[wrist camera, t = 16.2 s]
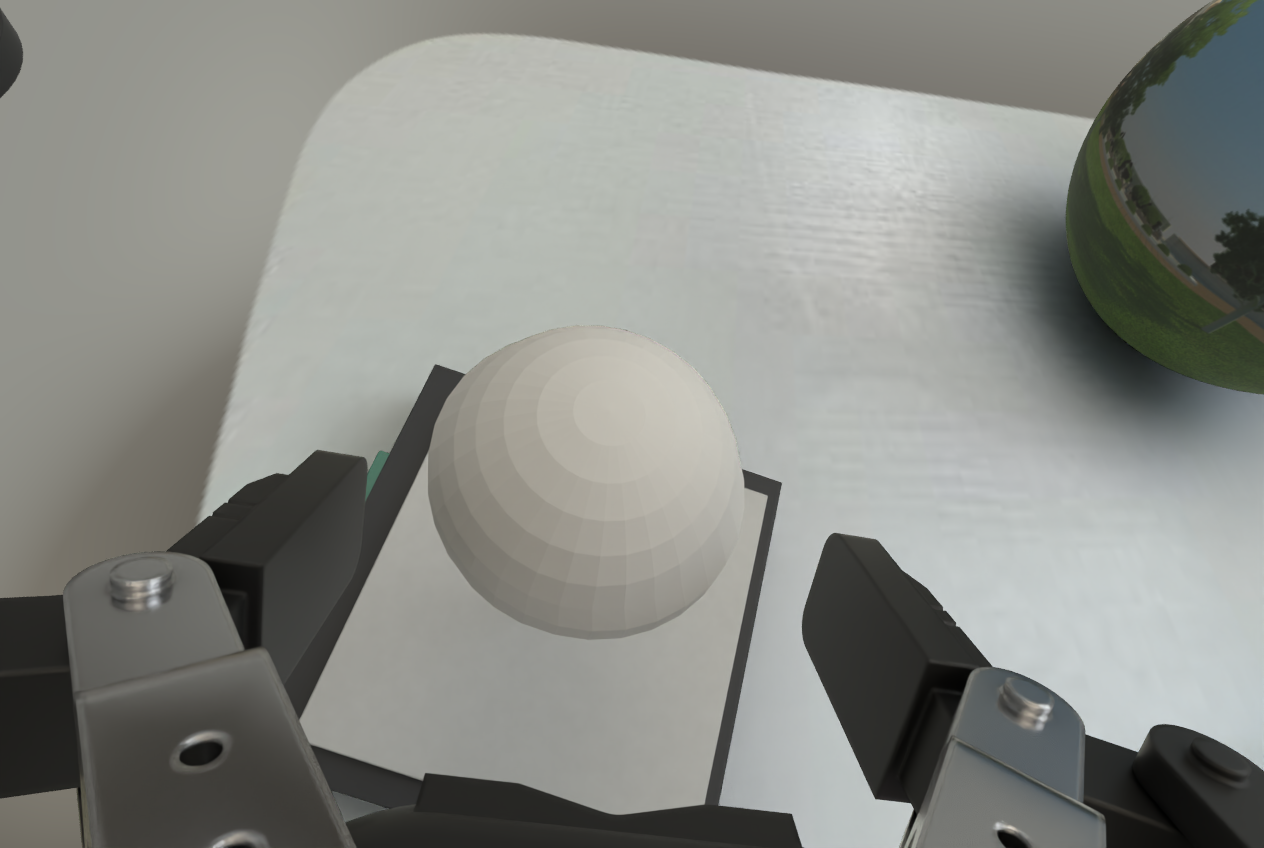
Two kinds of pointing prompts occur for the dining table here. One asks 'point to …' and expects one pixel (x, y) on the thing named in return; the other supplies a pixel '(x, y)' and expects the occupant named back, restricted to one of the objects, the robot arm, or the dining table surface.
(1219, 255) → the decorative sphere
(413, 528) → the scale
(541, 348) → the lollipop
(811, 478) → the dining table surface
